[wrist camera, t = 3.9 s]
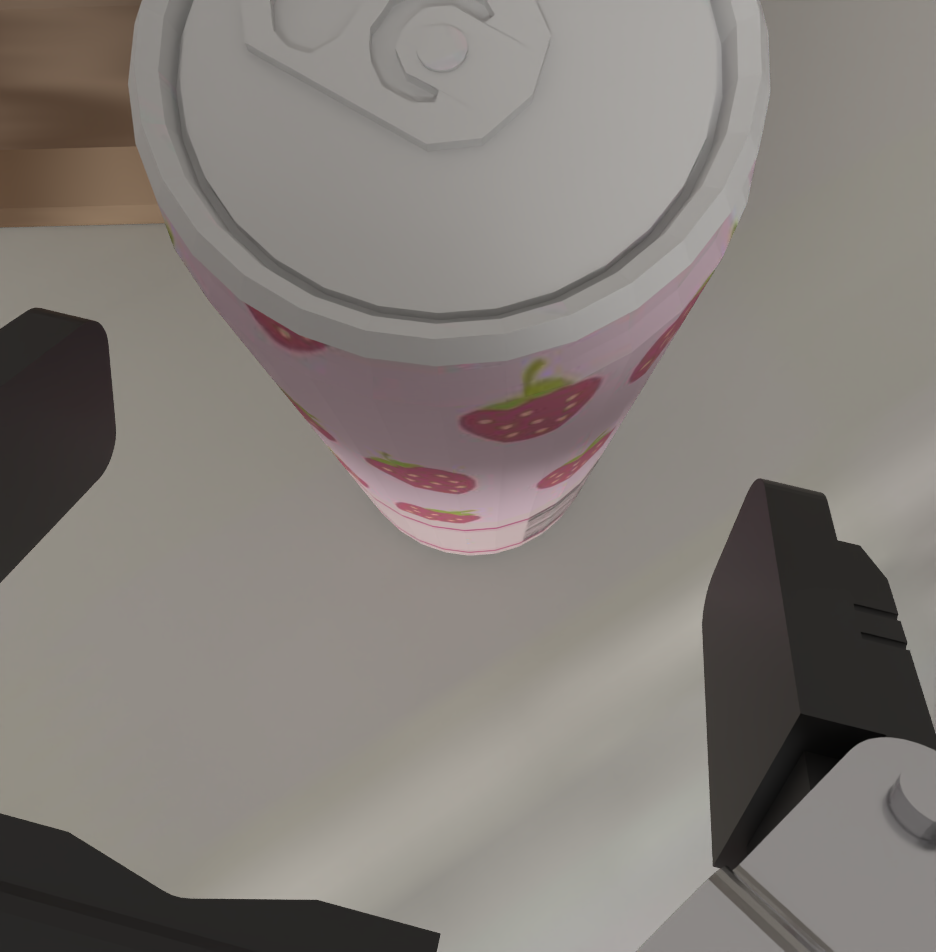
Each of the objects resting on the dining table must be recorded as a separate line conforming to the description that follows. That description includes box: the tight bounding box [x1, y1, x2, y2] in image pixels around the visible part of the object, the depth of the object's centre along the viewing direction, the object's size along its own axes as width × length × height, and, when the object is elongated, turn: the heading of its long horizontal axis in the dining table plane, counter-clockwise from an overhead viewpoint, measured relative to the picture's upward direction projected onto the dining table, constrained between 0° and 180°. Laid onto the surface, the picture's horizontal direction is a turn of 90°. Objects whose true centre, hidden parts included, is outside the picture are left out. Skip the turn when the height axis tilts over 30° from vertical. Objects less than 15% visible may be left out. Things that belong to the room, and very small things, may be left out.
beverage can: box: [128, 0, 771, 556], centre depth 15 cm, size 6×6×15 cm
